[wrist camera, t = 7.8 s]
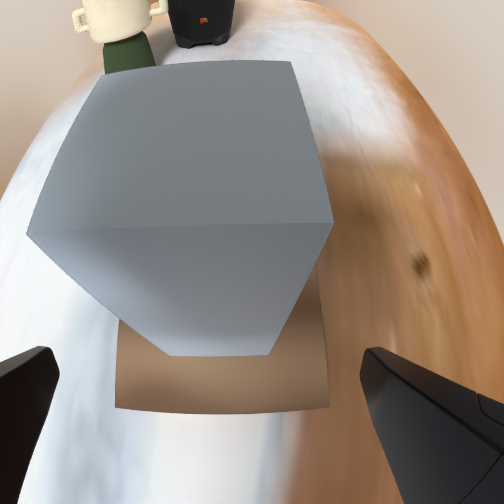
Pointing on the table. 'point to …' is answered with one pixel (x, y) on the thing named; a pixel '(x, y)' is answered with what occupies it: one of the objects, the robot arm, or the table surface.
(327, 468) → the table surface
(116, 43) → the character mug
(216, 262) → the block
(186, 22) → the portable speaker
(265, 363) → the plinth
